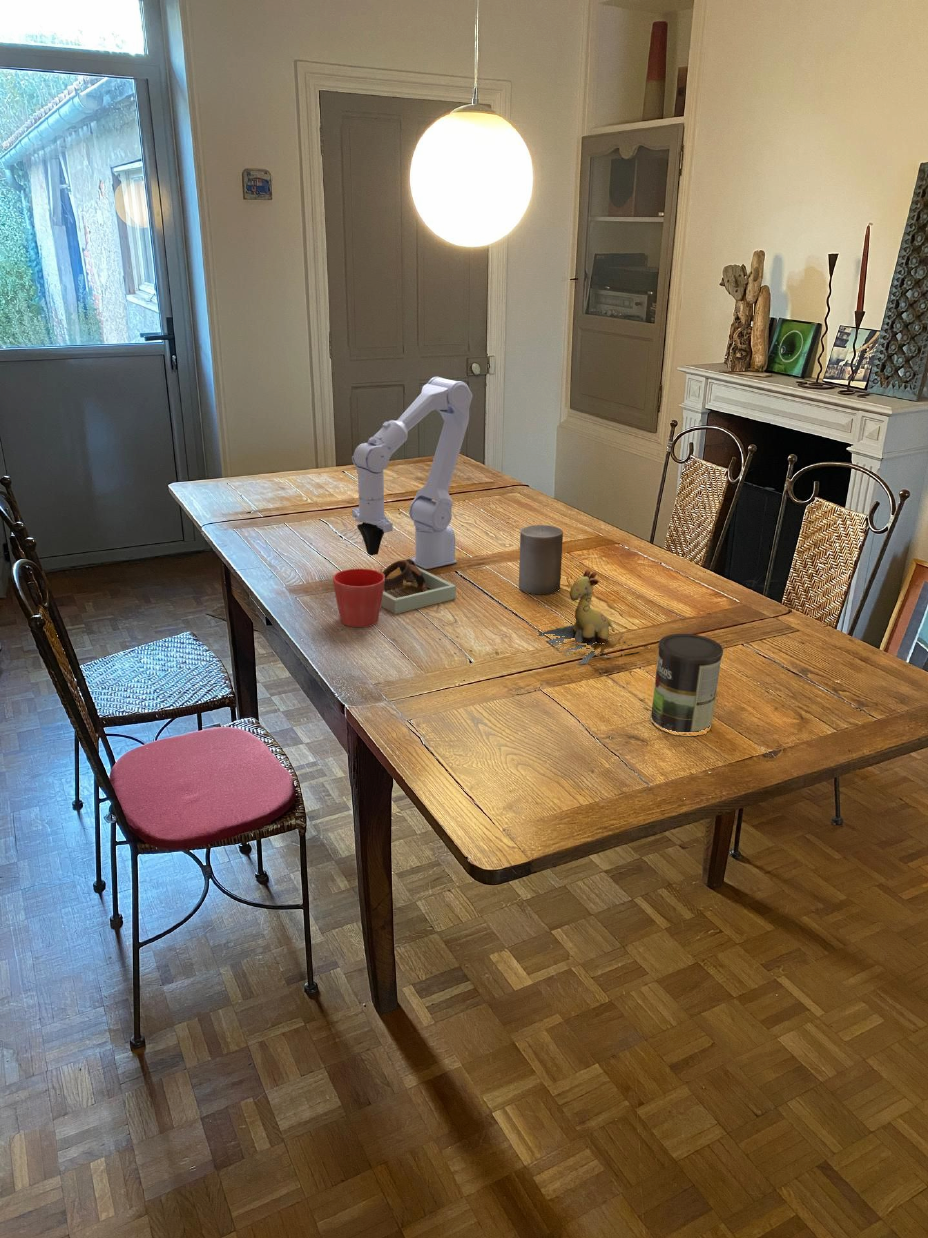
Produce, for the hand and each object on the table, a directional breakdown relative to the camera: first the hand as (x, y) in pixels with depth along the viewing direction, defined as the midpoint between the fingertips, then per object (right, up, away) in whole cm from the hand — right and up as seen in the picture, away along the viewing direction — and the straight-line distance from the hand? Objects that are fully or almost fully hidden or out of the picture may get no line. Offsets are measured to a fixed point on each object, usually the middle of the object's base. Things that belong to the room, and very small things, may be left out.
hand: (372, 554), depth 218 cm
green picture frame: (+8, -10, -8) cm, 15 cm away
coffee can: (+58, -33, -60) cm, 89 cm away
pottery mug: (+8, -9, -5) cm, 13 cm away
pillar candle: (+38, -8, -2) cm, 39 cm away
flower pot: (0, -16, -22) cm, 27 cm away
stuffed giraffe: (+47, -20, -30) cm, 59 cm away
